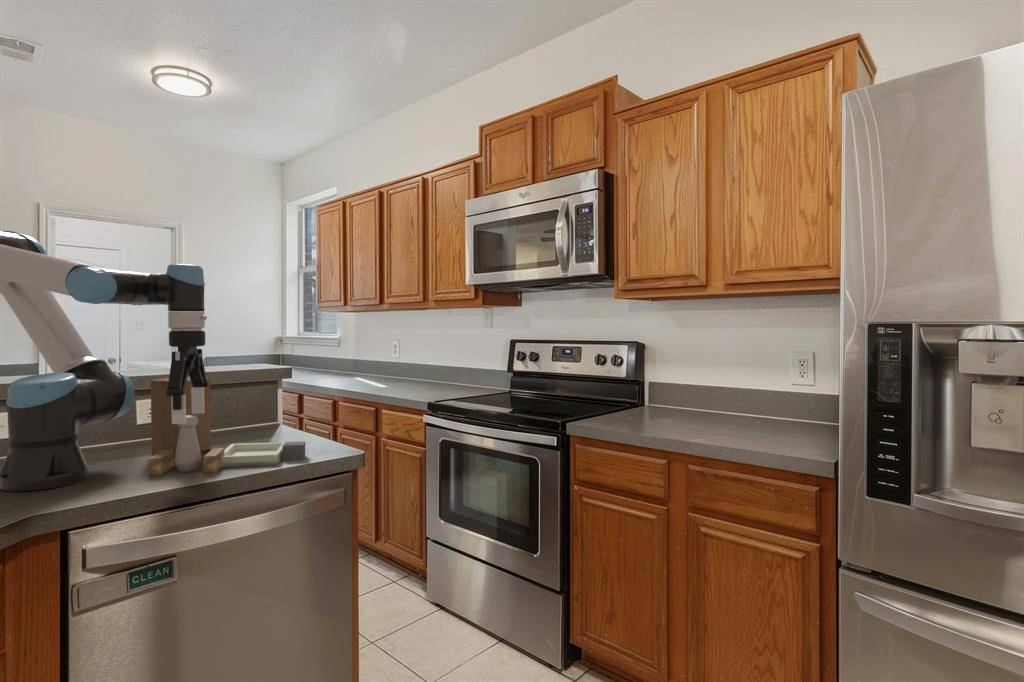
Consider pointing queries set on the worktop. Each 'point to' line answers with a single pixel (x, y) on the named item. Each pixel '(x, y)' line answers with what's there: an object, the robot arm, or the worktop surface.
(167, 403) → the wooden block
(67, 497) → the worktop surface
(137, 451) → the worktop surface
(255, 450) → the tray
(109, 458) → the worktop surface
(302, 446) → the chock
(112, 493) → the worktop surface
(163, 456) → the wooden blocks
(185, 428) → the salt shaker
